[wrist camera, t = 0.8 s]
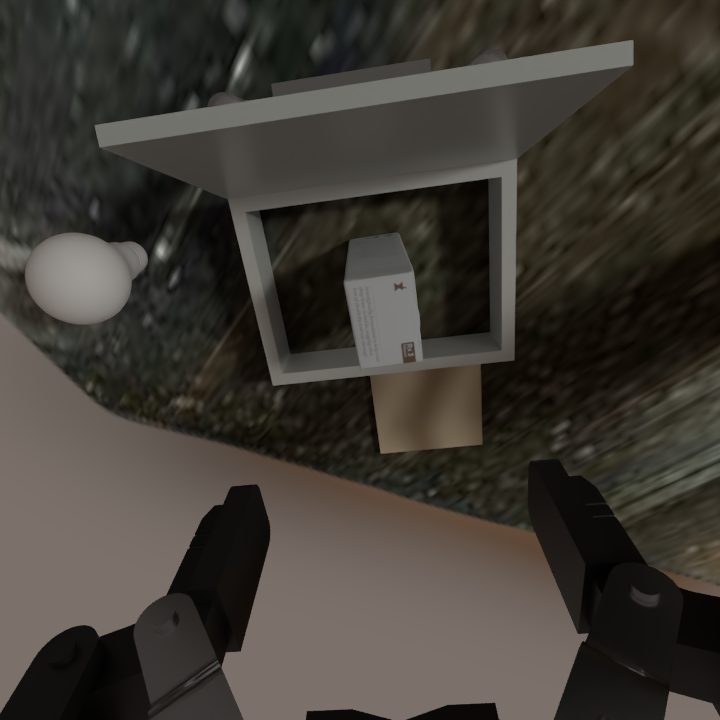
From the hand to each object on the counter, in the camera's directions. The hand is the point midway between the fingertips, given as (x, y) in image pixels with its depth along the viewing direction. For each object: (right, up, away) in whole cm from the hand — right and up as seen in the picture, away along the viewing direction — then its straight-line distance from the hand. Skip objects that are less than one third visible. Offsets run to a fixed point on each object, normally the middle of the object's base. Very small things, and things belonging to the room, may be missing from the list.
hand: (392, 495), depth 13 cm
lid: (-1, +15, +10) cm, 18 cm away
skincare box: (+1, +11, +24) cm, 27 cm away
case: (+1, +11, +24) cm, 27 cm away
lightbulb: (-20, +13, +24) cm, 34 cm away
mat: (+5, -1, +30) cm, 30 cm away
